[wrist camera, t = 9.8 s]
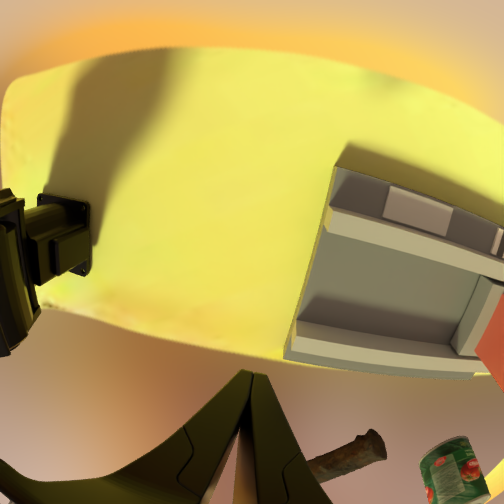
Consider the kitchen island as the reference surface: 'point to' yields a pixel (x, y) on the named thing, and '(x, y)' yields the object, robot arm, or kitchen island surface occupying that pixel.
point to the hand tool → (349, 457)
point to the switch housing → (391, 281)
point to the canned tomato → (453, 474)
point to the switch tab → (484, 327)
